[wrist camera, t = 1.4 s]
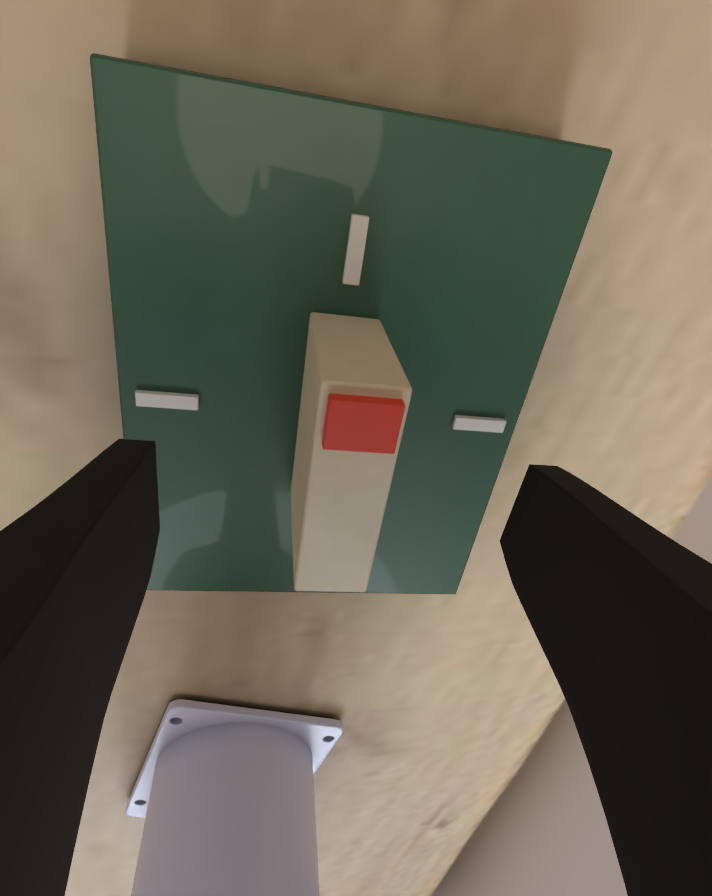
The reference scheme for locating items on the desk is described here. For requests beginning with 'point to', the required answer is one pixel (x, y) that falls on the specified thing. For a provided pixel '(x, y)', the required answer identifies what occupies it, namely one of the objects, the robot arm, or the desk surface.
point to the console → (321, 303)
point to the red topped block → (344, 450)
